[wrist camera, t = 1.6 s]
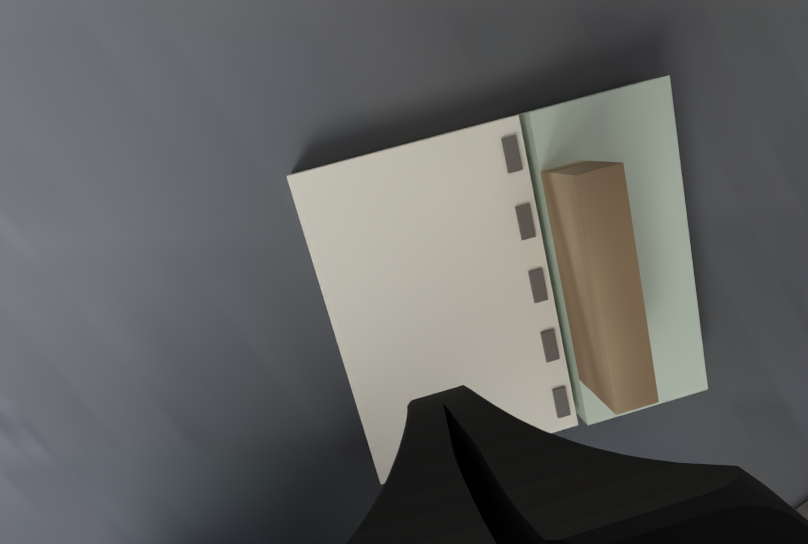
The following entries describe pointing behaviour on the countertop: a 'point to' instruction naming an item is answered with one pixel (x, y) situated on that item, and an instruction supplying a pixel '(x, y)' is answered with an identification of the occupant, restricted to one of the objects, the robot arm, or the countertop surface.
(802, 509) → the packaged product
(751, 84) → the countertop surface
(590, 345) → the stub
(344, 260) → the block
